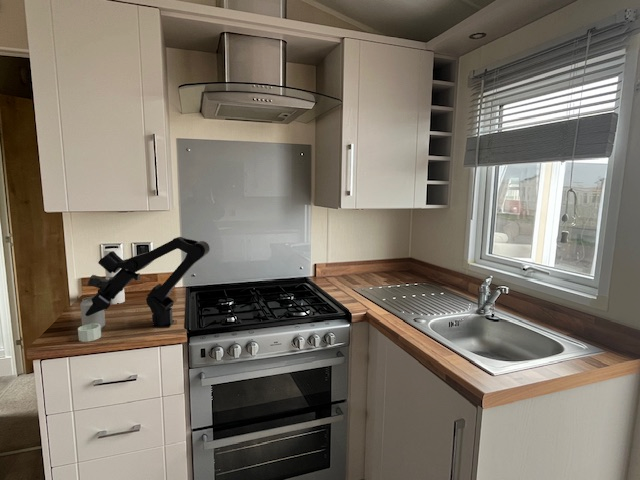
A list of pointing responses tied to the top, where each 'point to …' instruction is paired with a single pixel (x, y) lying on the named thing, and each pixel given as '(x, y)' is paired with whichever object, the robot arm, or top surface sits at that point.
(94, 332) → the bowl
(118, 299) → the cylindrical container
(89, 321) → the can
